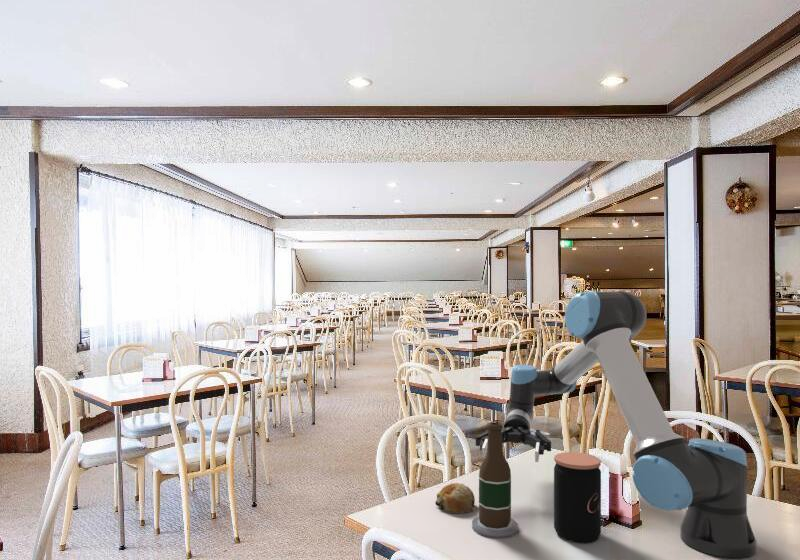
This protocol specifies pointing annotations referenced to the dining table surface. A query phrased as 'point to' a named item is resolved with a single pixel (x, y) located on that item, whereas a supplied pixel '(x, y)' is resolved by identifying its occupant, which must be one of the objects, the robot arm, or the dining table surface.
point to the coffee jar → (577, 497)
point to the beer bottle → (495, 482)
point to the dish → (494, 532)
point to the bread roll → (456, 498)
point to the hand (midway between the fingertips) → (509, 454)
